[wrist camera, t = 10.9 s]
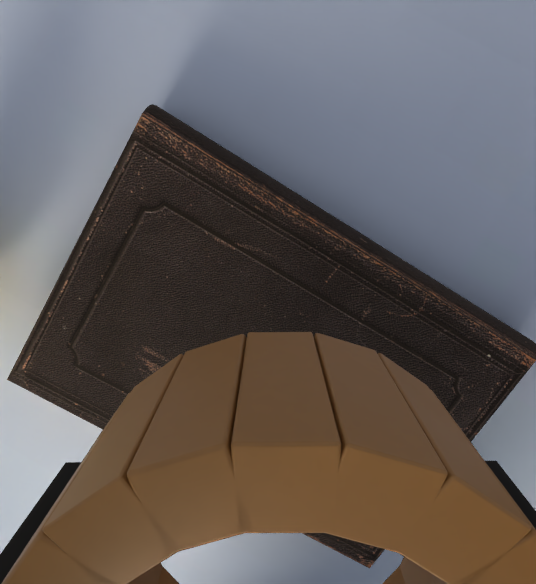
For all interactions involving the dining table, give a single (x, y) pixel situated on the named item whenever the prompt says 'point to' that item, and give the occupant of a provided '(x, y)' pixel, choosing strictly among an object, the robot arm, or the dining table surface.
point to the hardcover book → (244, 289)
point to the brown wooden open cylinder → (281, 470)
